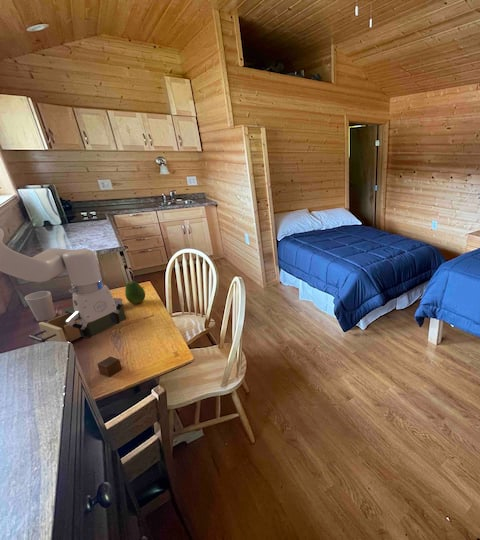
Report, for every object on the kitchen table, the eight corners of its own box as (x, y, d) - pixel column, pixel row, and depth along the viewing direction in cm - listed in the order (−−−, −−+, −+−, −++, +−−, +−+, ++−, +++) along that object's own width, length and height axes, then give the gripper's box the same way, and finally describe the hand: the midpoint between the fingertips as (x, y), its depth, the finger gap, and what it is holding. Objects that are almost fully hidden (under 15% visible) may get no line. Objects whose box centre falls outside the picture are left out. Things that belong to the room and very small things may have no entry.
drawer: (49, 353, 113) (42, 336, 110) (29, 346, 116) (21, 329, 113) (101, 328, 129) (96, 313, 126) (82, 322, 132) (77, 307, 129)
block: (109, 377, 106) (106, 367, 104) (100, 373, 107) (96, 363, 105) (122, 369, 110) (119, 359, 108) (113, 366, 111) (110, 356, 109)
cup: (62, 317, 137) (54, 293, 132) (39, 325, 130) (30, 301, 125) (53, 312, 139) (45, 289, 135) (30, 320, 133) (20, 296, 128)
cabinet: (91, 336, 126) (85, 316, 122) (70, 329, 129) (64, 310, 125) (126, 319, 139) (121, 301, 135) (106, 313, 142) (101, 295, 138)
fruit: (148, 303, 153) (143, 282, 148) (129, 308, 147) (124, 286, 143) (145, 297, 158) (140, 277, 153) (126, 302, 152) (121, 281, 148)
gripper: (65, 299, 91) (82, 346, 97) (123, 278, 106) (133, 319, 112) (48, 295, 92) (65, 340, 99) (107, 274, 108) (118, 315, 114)
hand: (102, 329), depth 106 cm, fingers open, 9 cm apart
